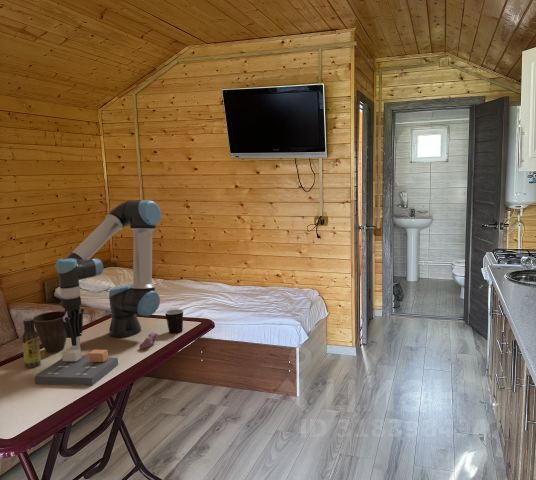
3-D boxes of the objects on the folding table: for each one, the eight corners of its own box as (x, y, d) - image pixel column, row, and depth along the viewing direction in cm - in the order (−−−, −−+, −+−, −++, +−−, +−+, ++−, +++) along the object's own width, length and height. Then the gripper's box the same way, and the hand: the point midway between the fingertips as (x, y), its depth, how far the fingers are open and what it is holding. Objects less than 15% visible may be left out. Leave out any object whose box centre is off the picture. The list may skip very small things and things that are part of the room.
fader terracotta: (94, 357, 207) (94, 349, 207) (108, 358, 206) (107, 349, 206) (89, 361, 203) (88, 353, 203) (103, 361, 202) (102, 353, 202)
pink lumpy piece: (146, 353, 224) (152, 339, 222) (137, 348, 224) (143, 335, 223) (156, 345, 233) (161, 332, 232) (147, 341, 234) (152, 327, 232)
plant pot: (64, 355, 223) (60, 320, 220) (30, 356, 223) (26, 321, 221) (77, 343, 238) (73, 310, 235) (46, 345, 238) (42, 312, 236)
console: (65, 363, 213) (64, 356, 212) (118, 364, 208) (117, 357, 208) (35, 383, 193) (34, 376, 193) (92, 385, 189) (91, 377, 188)
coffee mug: (169, 329, 251) (167, 309, 249) (186, 328, 251) (184, 308, 249) (163, 337, 239) (161, 316, 238) (181, 336, 239) (179, 315, 238)
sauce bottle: (31, 369, 208) (25, 322, 205) (21, 367, 211) (15, 321, 208) (45, 363, 214) (39, 318, 211) (35, 361, 217) (29, 316, 214)
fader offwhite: (68, 357, 210) (67, 349, 209) (81, 357, 209) (80, 349, 208) (62, 361, 206) (61, 352, 205) (76, 361, 205) (75, 353, 204)
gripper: (71, 292, 215) (77, 346, 218) (52, 300, 202) (59, 357, 205) (87, 292, 213) (93, 346, 216) (69, 300, 200) (76, 358, 204)
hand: (76, 352), depth 211 cm, fingers closed
